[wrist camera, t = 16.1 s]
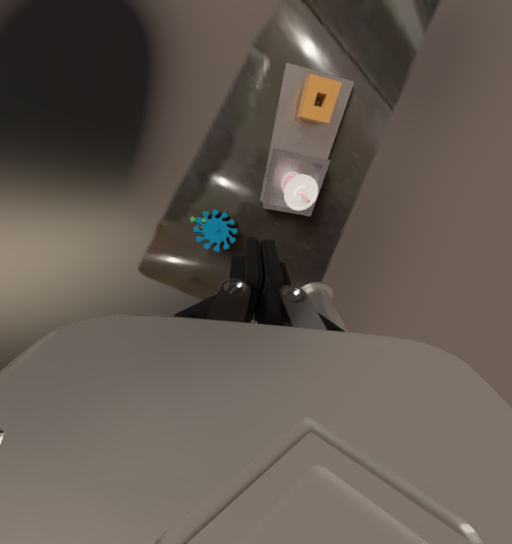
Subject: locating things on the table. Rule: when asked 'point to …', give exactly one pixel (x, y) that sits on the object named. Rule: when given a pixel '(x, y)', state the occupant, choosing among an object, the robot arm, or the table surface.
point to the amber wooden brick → (325, 91)
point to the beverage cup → (299, 190)
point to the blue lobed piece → (214, 230)
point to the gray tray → (299, 138)
